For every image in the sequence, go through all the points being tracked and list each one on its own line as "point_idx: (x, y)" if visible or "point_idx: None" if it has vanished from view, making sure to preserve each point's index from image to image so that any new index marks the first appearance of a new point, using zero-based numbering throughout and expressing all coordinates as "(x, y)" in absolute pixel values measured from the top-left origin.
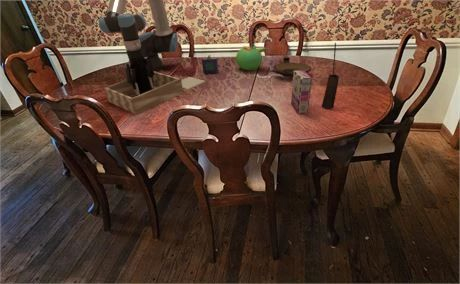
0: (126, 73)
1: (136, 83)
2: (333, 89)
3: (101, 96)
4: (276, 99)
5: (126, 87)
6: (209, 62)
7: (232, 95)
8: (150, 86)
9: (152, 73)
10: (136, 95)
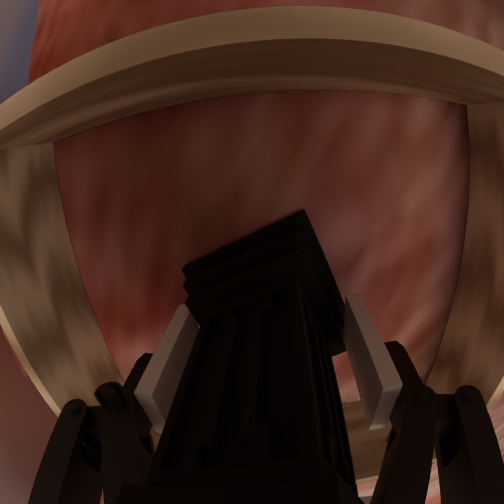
0: (35, 496)
1: None
2: None
3: (60, 4)
4: (428, 494)
5: (156, 90)
6: None
7: (436, 467)
8: (350, 334)
9: (435, 447)
10: (186, 289)
